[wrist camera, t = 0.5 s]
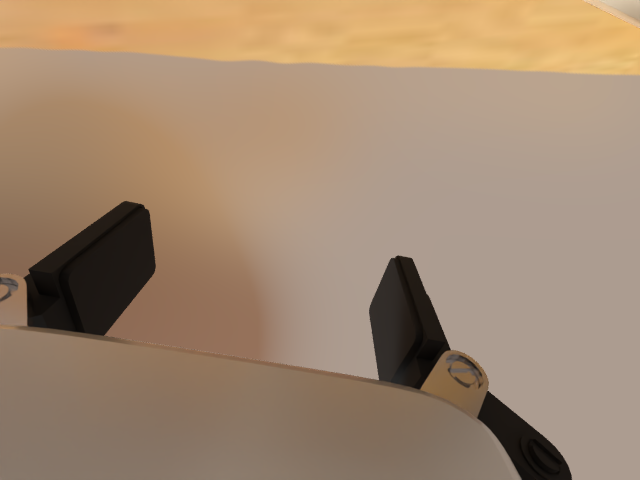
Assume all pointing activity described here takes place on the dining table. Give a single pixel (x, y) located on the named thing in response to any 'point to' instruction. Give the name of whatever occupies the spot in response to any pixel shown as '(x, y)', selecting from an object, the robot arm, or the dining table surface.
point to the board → (620, 9)
